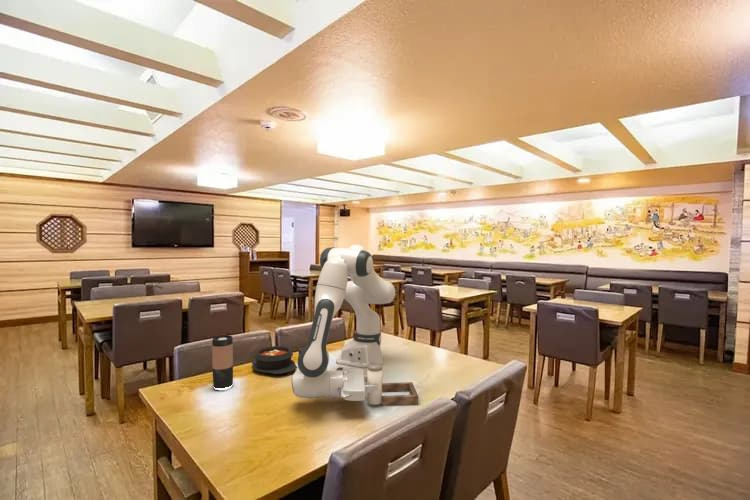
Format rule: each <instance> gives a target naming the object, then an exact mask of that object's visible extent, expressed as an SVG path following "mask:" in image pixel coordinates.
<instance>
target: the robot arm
mask: <svg viewBox="0 0 750 500" xmlns="http://www.w3.org/2000/svg"><path fill="white" fill-rule="evenodd" d="M319 266H320V268H321V271H320V274H319V277H318V279H317V282H316V288H315V293H314V313H313V320H312V323H311V328H310V331H309V336H308V339H307V342H306V344H305V346H303V347H304V348H303V350H302V351H301V352H300V354H299V353H298V355H299V356H298V355H297V361H296V363H297V369H295V371H294V373H293V374H292V375H291V388H292V389H291V390H292V392H293V395H295V397H297V398H300V399H301V398H302V399H320V398H327V399H328V398H329V399H338V398H339V399H340V398H341V399H343V400H345V401H350V402H351V401H352V402H363V401H365V400H366V393H367V392H371V391H375V390H378V384H373V385H369V386H368V385H367V384H365V383H367V378H368V374H364V370H363V368H365V369H366V368H367V365H368V364H370V363H380V364H383V362H384V358H383V355H382V347H381V346H382V345H381V344H382V332H381V317H380V315H379V314H378V313H377V312H376V310H373V309H372V308H371V307H370V306H369V304H370V305H385V304H390V303H391V304H392V302H393V300H394V299H395V296H396V289H395V286H394V285H393V283H392V282H389V281H387V280H385V279H384V278H382V277H381V276H380V275H379V274H377V272H376V271H375V269H374V259H373V255H372V254H371V253H370V252H369V251H367V249H366V248H365V247H364V246H363V245H361V244H352V245H350V246H348V247H345V248H344V247H331V246H330V247H327V248H325V249H323V250H322V252H321V254H320V257H319ZM349 277H350V280H348V279H349ZM344 300H345V302H347V303H349V305H350V306H351V307H352V309H353V311H354V313H355V318H356V330H355V331H354V332H353V333H352V334H351V335H352V336H351V337H352V338H353V339H352V340H350V341H349V342H347V343H346V344H345V345H344V346H343V347H342V350H341V353H340V355H338V356H337V357H336V361H335V362H336V364H338V365H346V366H350V367H346V368H344V367H343V366H339V367H337V368H336V369H335V370H333V371H331V370H330V371H329V370H328V366H329V363H330V355H329V351H328V349H327V343H328V340H329V333H330V330H331V325H332V322H333V319H334V317H335V316H336V314H337V313H338V312H339V310H340V309H341V307H342V305H343V302H344ZM351 366H352V367H351Z"/></svg>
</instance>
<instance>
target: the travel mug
mask: <svg viewBox="0 0 750 500" xmlns="http://www.w3.org/2000/svg"><path fill="white" fill-rule="evenodd" d="M233 338H234V337H233V336H232V335H227V334H226V335H216V336H215V337H212V339H211V342H212V343H211V344H212V345H211V348H212V349H211V351H212V352H211V353H212V358H211V359H212V360H211V363H212V365H211V366H212V387H213V386H214V387H215V388H225V387H229V386H231V385H232V384H233V385H234V348H233V347H234V343H233Z"/></svg>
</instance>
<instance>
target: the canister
mask: <svg viewBox="0 0 750 500" xmlns="http://www.w3.org/2000/svg"><path fill="white" fill-rule="evenodd" d="M366 369H367V375H368V378H367V382H366V383H367V384H366V385H368V386H369V385H373V384H378V390H375V391H371V392H367V394H366V396H367V397H366V402H367V404H369V405H373V406H375V405H380V404H382V396H383V392H382V383H383V363H381V364H380V363H370V364H368V365H367V367H366Z"/></svg>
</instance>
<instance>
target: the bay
mask: <svg viewBox="0 0 750 500" xmlns="http://www.w3.org/2000/svg"><path fill="white" fill-rule="evenodd" d="M398 392H399V393H401V392H408V393H409V394H402V395H401V394H399V395H398V394H396V395H390V394H389V395H382V402H381V406H382V407H385V406H386V407H389V406H390V407H391V406H415V405H416V406H418V405H419V400H420V399H419V394H418V393H417V390H416V388H415V386H414V382H411V381H409V382H407V381H405V382H404V381H403V382H401V381H400V382H382V393H398Z"/></svg>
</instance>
